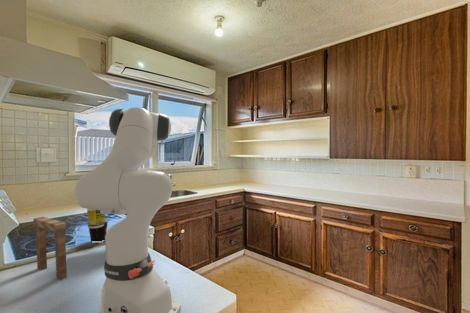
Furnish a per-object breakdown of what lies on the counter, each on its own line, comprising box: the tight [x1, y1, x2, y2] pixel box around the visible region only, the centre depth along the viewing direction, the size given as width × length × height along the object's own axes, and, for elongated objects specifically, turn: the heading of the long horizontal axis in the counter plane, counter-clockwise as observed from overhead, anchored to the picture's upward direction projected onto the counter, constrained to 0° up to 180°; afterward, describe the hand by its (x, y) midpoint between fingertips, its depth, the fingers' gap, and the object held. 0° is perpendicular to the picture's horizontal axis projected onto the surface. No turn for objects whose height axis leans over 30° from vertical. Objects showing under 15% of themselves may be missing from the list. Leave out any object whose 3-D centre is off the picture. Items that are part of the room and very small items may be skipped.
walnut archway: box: [33, 216, 68, 281], centre depth 93 cm, size 18×3×20 cm, turn 59°
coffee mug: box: [88, 218, 109, 242], centre depth 123 cm, size 12×9×10 cm
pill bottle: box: [86, 209, 105, 229], centre depth 107 cm, size 6×6×11 cm
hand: (94, 211), depth 107 cm, fingers closed on pill bottle, 6 cm apart
